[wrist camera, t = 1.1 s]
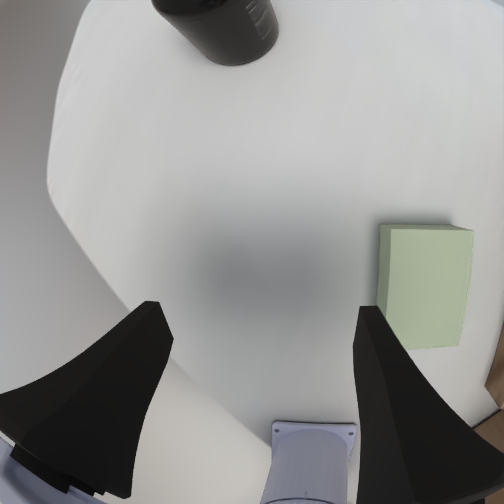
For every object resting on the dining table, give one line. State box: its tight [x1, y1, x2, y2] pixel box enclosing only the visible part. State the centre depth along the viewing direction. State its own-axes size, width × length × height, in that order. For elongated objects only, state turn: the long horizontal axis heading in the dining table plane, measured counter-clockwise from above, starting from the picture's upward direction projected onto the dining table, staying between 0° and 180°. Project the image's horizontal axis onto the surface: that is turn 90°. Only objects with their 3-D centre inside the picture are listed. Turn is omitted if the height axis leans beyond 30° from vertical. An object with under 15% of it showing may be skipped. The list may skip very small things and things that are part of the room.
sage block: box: [376, 224, 474, 350], centre depth 18 cm, size 8×6×4 cm
